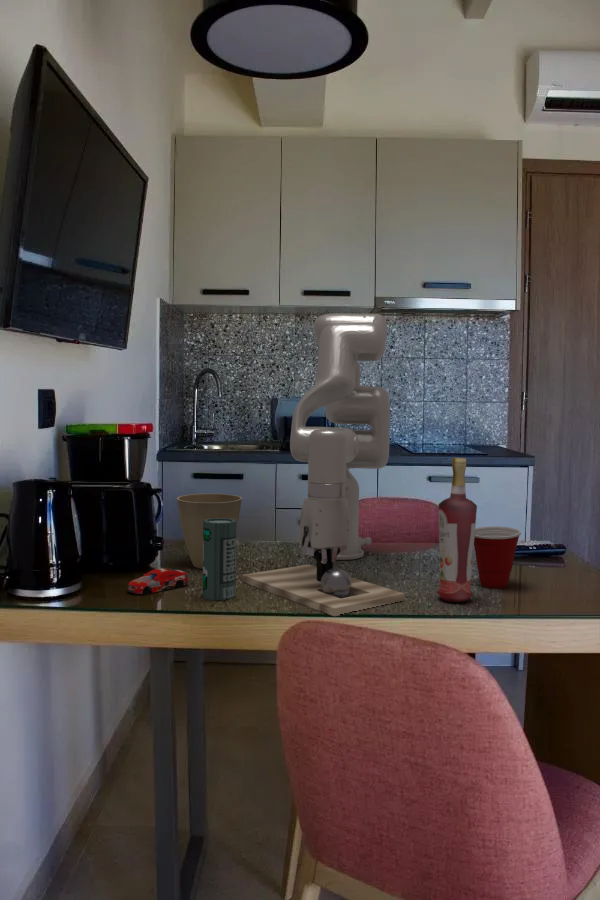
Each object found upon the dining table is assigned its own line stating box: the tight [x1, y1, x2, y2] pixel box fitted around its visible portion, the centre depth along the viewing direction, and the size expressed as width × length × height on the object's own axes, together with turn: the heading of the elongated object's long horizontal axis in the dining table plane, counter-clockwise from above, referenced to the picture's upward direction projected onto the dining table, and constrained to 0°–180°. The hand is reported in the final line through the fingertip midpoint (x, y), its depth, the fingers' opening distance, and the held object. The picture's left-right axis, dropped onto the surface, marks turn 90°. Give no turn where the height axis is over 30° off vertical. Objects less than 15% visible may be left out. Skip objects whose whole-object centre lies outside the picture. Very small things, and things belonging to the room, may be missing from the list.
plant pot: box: [176, 493, 243, 570], centre depth 168 cm, size 15×15×16 cm
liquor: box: [436, 457, 478, 604], centre depth 142 cm, size 7×7×28 cm
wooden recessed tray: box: [241, 564, 405, 617], centre depth 147 cm, size 30×18×2 cm, turn 38°
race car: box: [127, 567, 189, 596], centre depth 147 cm, size 13×5×4 cm, turn 134°
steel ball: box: [321, 567, 351, 598], centre depth 142 cm, size 6×6×6 cm
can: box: [202, 518, 237, 601], centre depth 142 cm, size 6×6×15 cm
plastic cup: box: [473, 525, 522, 589], centre depth 155 cm, size 11×11×12 cm
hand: (324, 581), depth 146 cm, fingers closed
